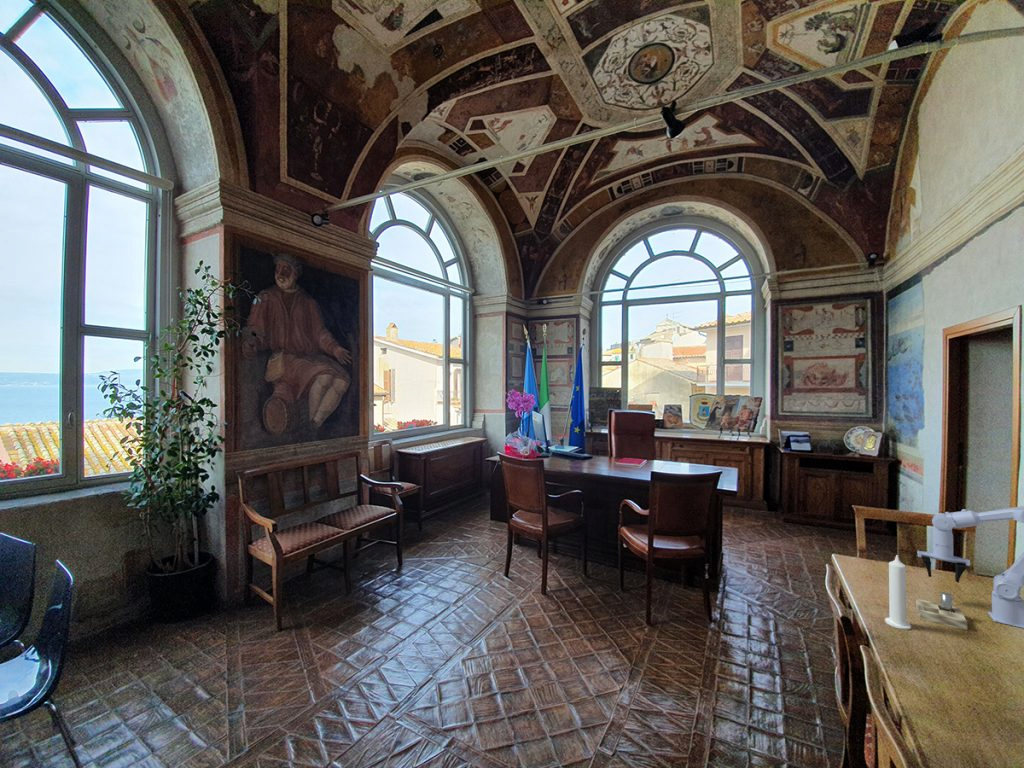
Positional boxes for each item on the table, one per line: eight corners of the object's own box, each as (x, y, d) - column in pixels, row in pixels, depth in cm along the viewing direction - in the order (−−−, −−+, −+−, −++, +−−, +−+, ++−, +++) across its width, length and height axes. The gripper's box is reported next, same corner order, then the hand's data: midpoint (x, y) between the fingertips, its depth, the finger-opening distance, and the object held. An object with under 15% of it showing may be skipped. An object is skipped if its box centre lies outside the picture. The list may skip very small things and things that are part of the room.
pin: (951, 615, 158) (951, 593, 158) (953, 618, 155) (952, 596, 156) (940, 612, 160) (940, 591, 160) (941, 615, 157) (941, 594, 157)
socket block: (959, 616, 158) (959, 608, 158) (967, 630, 149) (967, 621, 149) (915, 605, 166) (915, 598, 166) (920, 619, 156) (920, 610, 156)
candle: (916, 631, 148) (915, 559, 149) (893, 628, 150) (892, 558, 150) (902, 620, 155) (901, 552, 156) (880, 618, 157) (879, 550, 157)
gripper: (966, 545, 166) (967, 580, 166) (916, 537, 175) (916, 570, 175) (971, 551, 161) (971, 586, 160) (918, 542, 169) (919, 576, 169)
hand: (943, 578), depth 167 cm, fingers open, 7 cm apart
